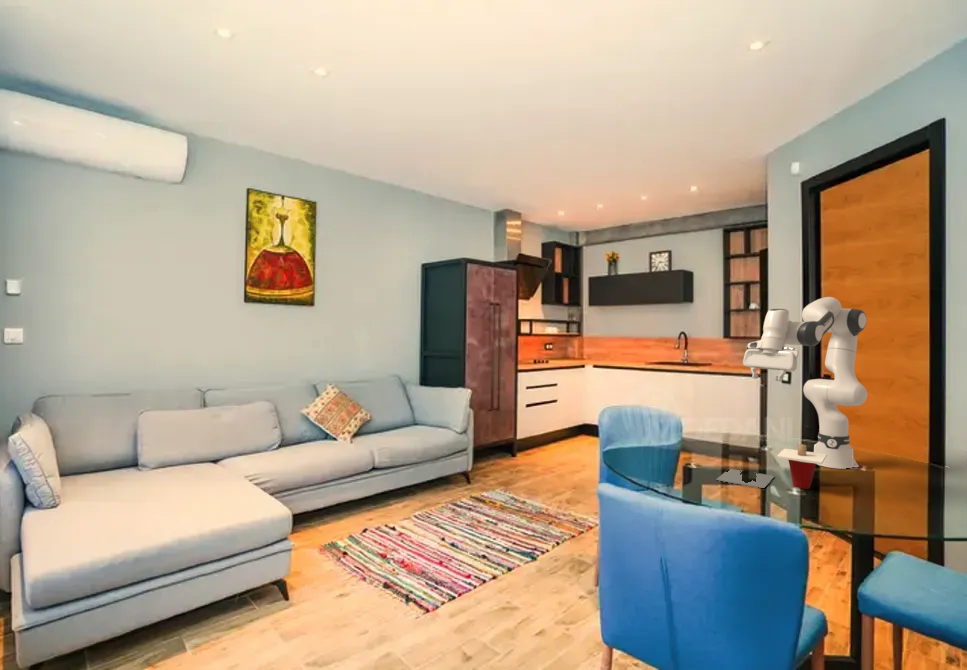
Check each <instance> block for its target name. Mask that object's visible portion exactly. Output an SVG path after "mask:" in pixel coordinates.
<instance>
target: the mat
mask: <svg viewBox="0 0 967 670" xmlns="http://www.w3.org/2000/svg"><path fill="white" fill-rule="evenodd" d="M729 469H730V470H729V471H728V472H726V471H724V472H723V473H722V474H721V475H719V476H718V477H717V478H716V479H715V481H716V480H719V481H718V482H720V481H723V482H722V483H725V482H728V483H727V484H731V483H733V484H732V485H736V484H741V485H740V486H742V485H748V486H751V487H750V488H753V487H759V488H765V487H766V486H767V485H768V484H770V483H771V482H772V481H773V480H774V479H775V478H774V477H776V475H772V474H771V475H770V474H765V473H758V472H755V473H756V476H757V477H756V482H755V481H753V480H752V481H751V482H748V483H745V482H744V481H742V474H741V475H740V473H741V472H742V471H743V470H741V469H740V470H739V469H734V468H729ZM740 471H741V472H740ZM757 473H758V474H757ZM773 478H774V479H773ZM772 479H773V480H772ZM771 480H772V481H771ZM770 481H771V482H770ZM768 486H769V485H768ZM768 486H767V487H768ZM767 487H766V488H767ZM766 488H765V489H766Z"/></svg>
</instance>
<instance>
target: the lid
mask: <svg viewBox="0 0 967 670" xmlns="http://www.w3.org/2000/svg"><path fill="white" fill-rule="evenodd" d="M807 450H808V448H807V445H806V444H803V443H802V444H801V443H799V444H797V449H792V448H783V449H782V450H781V451H780V452H779V453H778V454H777V455H776V458H777V459H783V460H788V459H789V460H795V461H802V462H809V463H816V465H818V464H822V463H823V461H824V460H825V458H826V457H827V454H821V453H814V451H807Z"/></svg>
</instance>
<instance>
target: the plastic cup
mask: <svg viewBox="0 0 967 670" xmlns="http://www.w3.org/2000/svg"><path fill="white" fill-rule="evenodd" d="M787 460H788V464H789V465H788V466H789V469H790V470H789V471H790V477H791V480H792V485H793V487H795V488H796V489H802V490H803V489H804V490H805V489H806V490H808V489H811V485H812V481H813V477H814V473H815V469H816V466H817V464H816V463H809V462H802V461H795V460H789V459H787Z"/></svg>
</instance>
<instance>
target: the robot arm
mask: <svg viewBox="0 0 967 670" xmlns="http://www.w3.org/2000/svg"><path fill="white" fill-rule="evenodd" d="M801 317H802V321H792V320H791V319H790V310H788V309H786V308H771V309H769V310H767V312H766V315H765V318H764V321H763V326H762V327H763V328H762V331H763V333H762V336H761V337H760V340H756V341H752V342H749V343H747V348H748V349H746V351H745V352H744V354H743V355H744V356H743V360H742V364H743V366H745V367H746V368H750V371H751V373H752V376H751V378H752V379H755V380H757V379H758V378H759V375H758V373H756V371H757V369H763V370H764V369H765V370H773V371H776V370H777V371H779V374H778V375H776V376H775V381H777V382H782V379H783V377H784V376H785V375H786V373H787V372H795V371H796V370H797V368H798V357H799V350H798V349H796V348H795V347H788V345H789V346H805V347H816V345H819V343H820V342H821V341H822V339H823V337H824V336H825V334H826V333H831V336H830V339H829V341H828V345H827V349H826V354H825V359H824V366H825V368H826V369H827V370H828V371H829V372H831V373H833V374H834V375H833V377H834V379H825V378H824V379H823V378H815V379H808V380H807V381H806V382H805V383H804V385H803V388H802V390H803V395H804V397H805V398H806V399H807V400H808V401H810V403H812V405H813V406H814V408H815V410H816V413H817V417H818V425H819V429H818V430H819V431H818V433H817V440H818V441H817V442H816V443H815V444H814V445H813V446H814V447H813V452H814V453H821V454H827V457H826V458H825V460H824V461H823V463H822V464H817V465H818V466H822V467H826V468H830V469H831V468H832V469H839V470H847V469H846V468H850V469H853V468H852V467H859V468H860V466H859V464H858V463H857V461H856V459H855V456H854V449H853V448H852V447H851V445H850V443H851V442H850V441H851V438H850V435H849V419H848V417H847V415H845V414H844V413H842V412H841V411H840V410H839V409H838V407H837V406H845V407H857V406H862V405H864V403H866V400H867V397H868V392H867V389H866V387H865V386H864V385H863V384H862V383H860V382H859V380H858V379H857V376H856V372H855V363H856V355H857V351H858V350H857V349H858V335H859V334H860V333H861V332H862V331H863V330H864V329H865V328H866V326H867V322H868V321H867V320H868V319H867V314H866V313H865V312H864V311H863V310H862V309H860V308H843V307H842V304H841V302H840V300H839V299H837V298H835V297H833V296H826V297H821V298H818V299H816V300H814V301H812V302H810V303H808V304H807V305H806V306H805V307H804V308H803V310H802V312H801ZM786 345H787V347H786Z"/></svg>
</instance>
